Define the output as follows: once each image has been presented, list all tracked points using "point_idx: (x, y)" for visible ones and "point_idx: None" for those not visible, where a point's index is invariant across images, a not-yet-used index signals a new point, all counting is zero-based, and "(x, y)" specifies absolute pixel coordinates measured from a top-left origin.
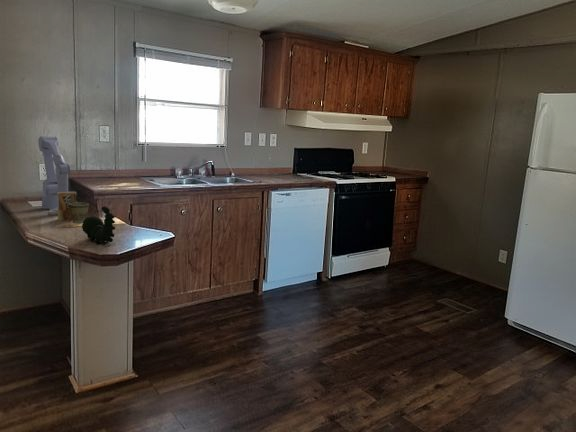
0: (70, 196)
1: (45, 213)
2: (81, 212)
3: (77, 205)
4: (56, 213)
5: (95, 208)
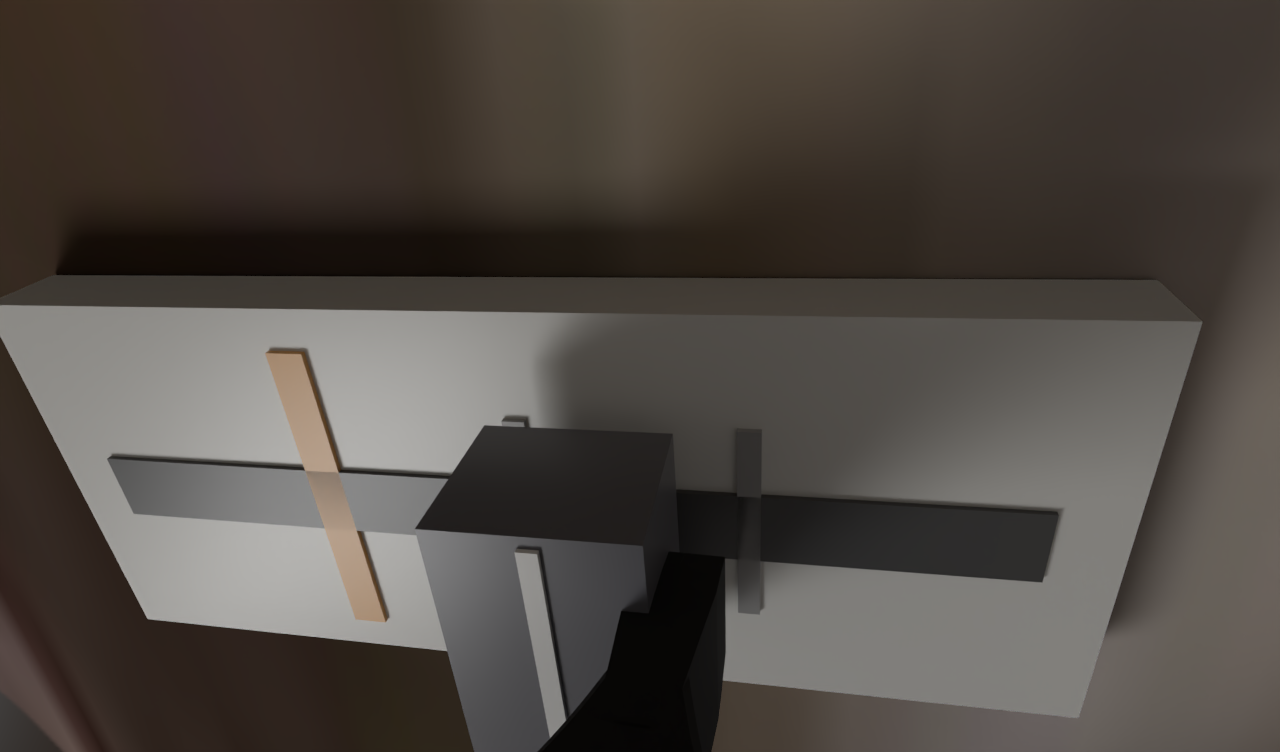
0: None
1: (1236, 518)
2: None
3: None
4: (916, 295)
5: (117, 741)
